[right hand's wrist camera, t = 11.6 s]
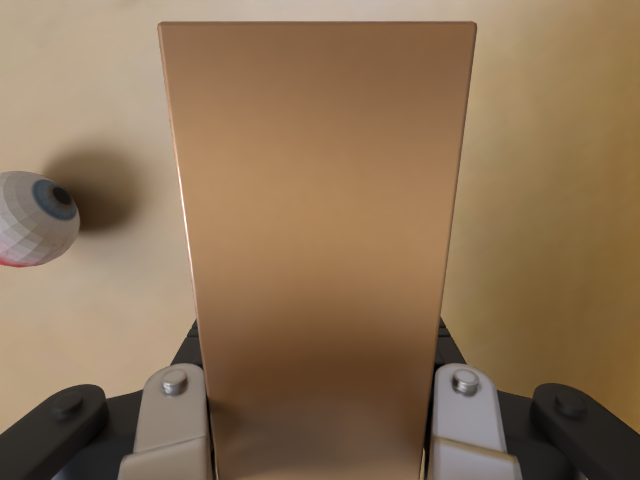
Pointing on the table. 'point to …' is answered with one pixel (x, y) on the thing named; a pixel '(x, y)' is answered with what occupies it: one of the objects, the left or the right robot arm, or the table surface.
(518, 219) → the table surface
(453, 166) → the bar
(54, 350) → the table surface
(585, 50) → the table surface
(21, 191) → the eyeball
